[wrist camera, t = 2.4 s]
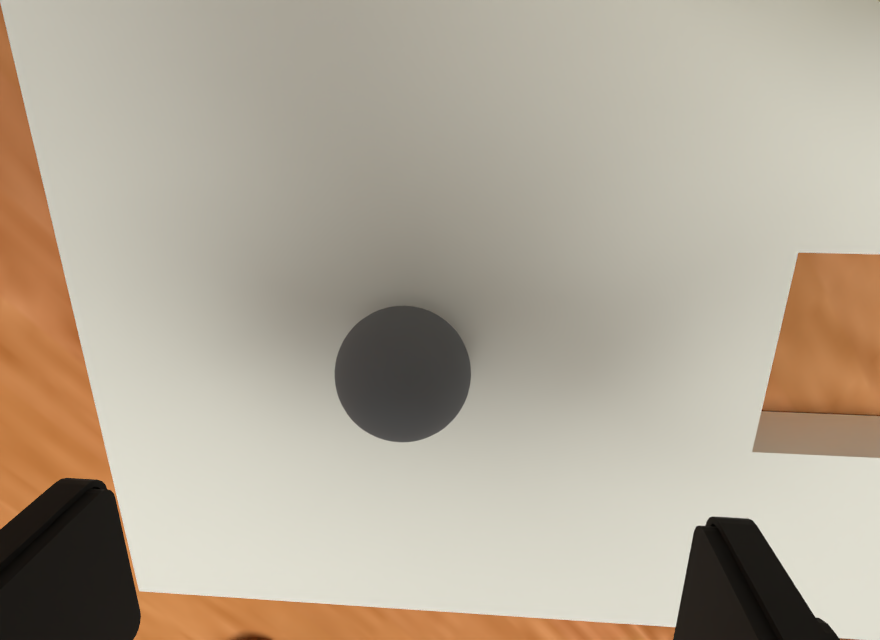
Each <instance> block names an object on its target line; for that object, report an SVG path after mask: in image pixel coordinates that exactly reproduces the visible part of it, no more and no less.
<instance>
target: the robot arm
mask: <svg viewBox="0 0 880 640" xmlns="http://www.w3.org/2000/svg"><path fill="white" fill-rule="evenodd" d="M140 618H141V615H140V609H139V604H138V599H137V595H136V590H135V586H134V581H133V577H132V572H131V568H130V563H129V559H128V554H127V550H126V545H125V540H124V536H123V531H122V527H121V522H120V518H119V513H118V509H117V504H116V500H115V496H114V494H113V492H112V491H111V490H107V488H106V485H105V484H104V483H103V482H102V481H99V480H91V479H75V478H65V479H61V480H59V481H57V482H56V483H55V484H53V485H52V486H51V487H50V488H49V489H47V490H46V491H45V492H44V493H43V494H42V495H40V496H39V497H38V498H37V499H36V500H35V501H33V502H32V503H31V504H30V505H29V506H28V507H26V508H25V509H24V510H23V511H22V512H20V513H19V514H18V515H17V516H16V517H15V518H13V519H12V520H11V521H10V522H9V523H8V524H6V525H5V526H4V527H3V528H2V529H0V640H133V639H134V637H135V636H136V634H137V631H138V629H139V625H140ZM673 640H840V639H839V638H838V636H837V635H836V633H835V632H834V631H833V629H832V628H831V627H830V626H829V625H828V623H826V622H825V621H823V620H822V619H820V618H816V617H815V616H814V614H813V613H812V611H811V610H810V608H809V606H808V605H807V603H806V602H805V600H804V599H803V597H802V595H801V594H800V592H799V591H798V589H797V588H796V586H795V585H794V583H793V581H792V580H791V578H790V577H789V575H788V574H787V572H786V570H785V569H784V567H783V566H782V564H781V563H780V561H779V559H778V558H777V556H776V555H775V553H774V552H773V550H772V548H771V547H770V545H769V544H768V542H767V541H766V539H765V537H764V536H763V534H762V533H761V531H760V530H759V528H758V526H757V525H756V524H755V523H754V521H753V520H751V519H748V518H731V517H714V516H712V517H709V519H708V520H707V522H706V525H705V526H696V528H695V530H694V533H693V539H692V544H691V549H690V554H689V560H688V565H687V570H686V575H685V581H684V586H683V591H682V597H681V602H680V607H679V612H678V618H677V623H676V628H675V633H674V639H673Z"/></svg>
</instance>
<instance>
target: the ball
mask: <svg viewBox="0 0 880 640" xmlns="http://www.w3.org/2000/svg"><path fill="white" fill-rule="evenodd" d="M470 381H471V366H470V360H469V355H468V352H467V349H466V347H465V345H464V343H463V341H462V339H461V337H460V336H459V334H458V333H457V331H456V330H455V329H454V328H453V327H452V326H451V325H450V324H449V323H448V322H447V321H445V320H444V319H443V318H441V317H440V316H438V315H437V314H435V313H433V312H431V311H428V310H426V309H423V308H419V307H414V306H393V307H387V308H384V309H380V310H378V311H376V312H373V313H371V314H370V315H368V316H367V317H365V318H363V319H362V320H361V321H360V322H358V323H357V324H356V325H355V326H354V327H353V328H352V329H351V331H350V332H349V333H348V334H347V336H346V337H345V339H344V340H343V342H342V345H341V347H340V349H339V352H338V355H337V358H336V364H335V385H336V391H337V394H338V398H339V400H340V402H341V404H342V406H343V408H344V410H345V411H346V413H347V414H348V416H349V417H350V418H351V420H352V421H353V422H354V423H355V424H356V425H357V426H359V427H360V428H361V429H363V430H364V431H366V432H367V433H369V434H371V435H373V436H375V437H377V438H380V439H383V440H387V441H392V442H414V441H418V440H422V439H425V438H428V437H430V436H432V435H434V434H436V433H438V432H439V431H441V430H442V429H444V428H445V427H446V426H447V425H448V424H449V423H450V422H451V421H452V420H453V419H454V418H455V417H456V416H457V415H458V413H459V412H460V410H461V408H462V407H463V405H464V403H465V400H466V398H467V396H468V392H469V388H470Z"/></svg>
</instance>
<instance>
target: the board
mask: <svg viewBox="0 0 880 640" xmlns="http://www.w3.org/2000/svg"><path fill="white" fill-rule="evenodd" d="M0 3H1V7H2V12H3V16H4V20H5V24H6V29H7V33H8V37H9V41H10V46H11V50H12V54H13V58H14V63H15V67H16V71H17V75H18V79H19V84H20V88H21V92H22V96H23V101H24V105H25V109H26V113H27V118H28V122H29V126H30V130H31V135H32V139H33V143H34V147H35V151H36V156H37V160H38V164H39V168H40V173H41V177H42V181H43V185H44V190H45V194H46V198H47V202H48V207H49V211H50V215H51V219H52V223H53V228H54V232H55V236H56V240H57V245H58V249H59V253H60V257H61V262H62V266H63V270H64V274H65V279H66V283H67V287H68V291H69V295H70V300H71V304H72V308H73V312H74V317H75V321H76V325H77V329H78V334H79V338H80V342H81V346H82V351H83V355H84V359H85V363H86V367H87V372H88V376H89V380H90V384H91V389H92V393H93V397H94V401H95V406H96V410H97V414H98V418H99V423H100V427H101V431H102V435H103V439H104V444H105V448H106V452H107V456H108V461H109V465H110V469H111V473H112V478H113V482H114V486H115V490H116V495H117V499H118V503H119V507H120V511H121V516H122V520H123V524H124V528H125V533H126V537H127V541H128V545H129V550H130V554H131V558H132V562H133V567H134V571H135V575H136V579H137V583H138V588H139V591H144V592H159V593H174V594H189V595H204V596H219V597H234V598H249V599H263V600H278V601H293V602H308V603H323V604H338V605H353V606H368V607H383V608H398V609H412V610H427V611H442V612H457V613H472V614H487V615H502V616H517V617H532V618H547V619H561V620H576V621H591V622H606V623H621V624H636V625H651V626H666V627H676V623H677V618H678V612H679V607H680V602H681V597H682V591H683V586H684V581H685V575H686V570H687V565H688V560H689V554H690V549H691V544H692V539H693V533H694V530H695V528H696V526H705V525H706V522H707V520H708V519H709V517H712V516H714V517H731V518H748V519H751V520H753V521H754V523H755V524H756V525H757V526H758V528H759V530H760V531H761V533H762V534H763V536H764V537H765V539H766V541H767V542H768V544H769V545H770V547H771V548H772V550H773V552H774V553H775V555H776V556H777V558H778V559H779V561H780V563H781V564H782V566H783V567H784V569H785V570H786V572H787V574H788V575H789V577H790V578H791V580H792V581H793V583H794V585H795V586H796V588H797V589H798V591H799V592H800V594H801V595H802V597H803V599H804V600H805V602H806V603H807V605H808V606H809V608H810V610H811V611H812V613H813V614H814V616H815V617H816V618H820V619H822V620H823V621H825V622H826V623H828V625H829V626H830V627H831V628H832V629H833V631H834V632H835V633H836V635H837V636H838V638H845V639H859V640H880V416H866V415H842V414H817V413H793V412H769V411H762V407H763V402H764V398H765V394H766V389H767V385H768V381H769V376H770V372H771V368H772V363H773V359H774V355H775V351H776V346H777V342H778V338H779V333H780V329H781V325H782V320H783V316H784V312H785V307H786V303H787V299H788V294H789V290H790V286H791V282H792V277H793V273H794V269H795V264H796V260H797V256H798V252H799V253H843V254H880V2H879V1H878V0H0ZM393 306H414V307H419V308H423V309H426V310H428V311H431V312H433V313H435V314H437V315H438V316H440V317H441V318H443V319H444V320H445V321H447V322H448V323H449V324H450V325H451V326H452V327H453V328H454V329H455V330H456V331H457V333H458V334H459V336H460V337H461V339H462V341H463V343H464V345H465V347H466V349H467V352H468V355H469V360H470V366H471V381H470V388H469V392H468V396H467V398H466V400H465V403H464V405H463V407H462V408H461V410H460V412H459V413H458V415H457V416H456V417H455V418H454V419H453V420H452V421H451V422H450V423H449V424H448V425H447V426H446V427H445V428H444V429H442V430H441V431H439V432H438V433H436V434H434V435H432V436H430V437H428V438H425V439H422V440H418V441H414V442H392V441H387V440H383V439H380V438H377V437H375V436H373V435H371V434H369V433H367V432H366V431H364V430H363V429H361V428H360V427H359V426H357V425H356V424H355V423H354V422H353V421H352V420H351V418H350V417H349V416H348V414H347V413H346V411H345V410H344V408H343V406H342V404H341V402H340V400H339V398H338V394H337V391H336V385H335V364H336V358H337V355H338V352H339V349H340V347H341V345H342V342H343V340H344V339H345V337H346V336H347V334H348V333H349V332H350V331H351V329H352V328H353V327H354V326H355V325H356V324H357V323H358V322H360V321H361V320H362V319H363V318H365V317H367V316H368V315H370V314H371V313H373V312H376V311H378V310H380V309H384V308H387V307H393Z"/></svg>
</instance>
